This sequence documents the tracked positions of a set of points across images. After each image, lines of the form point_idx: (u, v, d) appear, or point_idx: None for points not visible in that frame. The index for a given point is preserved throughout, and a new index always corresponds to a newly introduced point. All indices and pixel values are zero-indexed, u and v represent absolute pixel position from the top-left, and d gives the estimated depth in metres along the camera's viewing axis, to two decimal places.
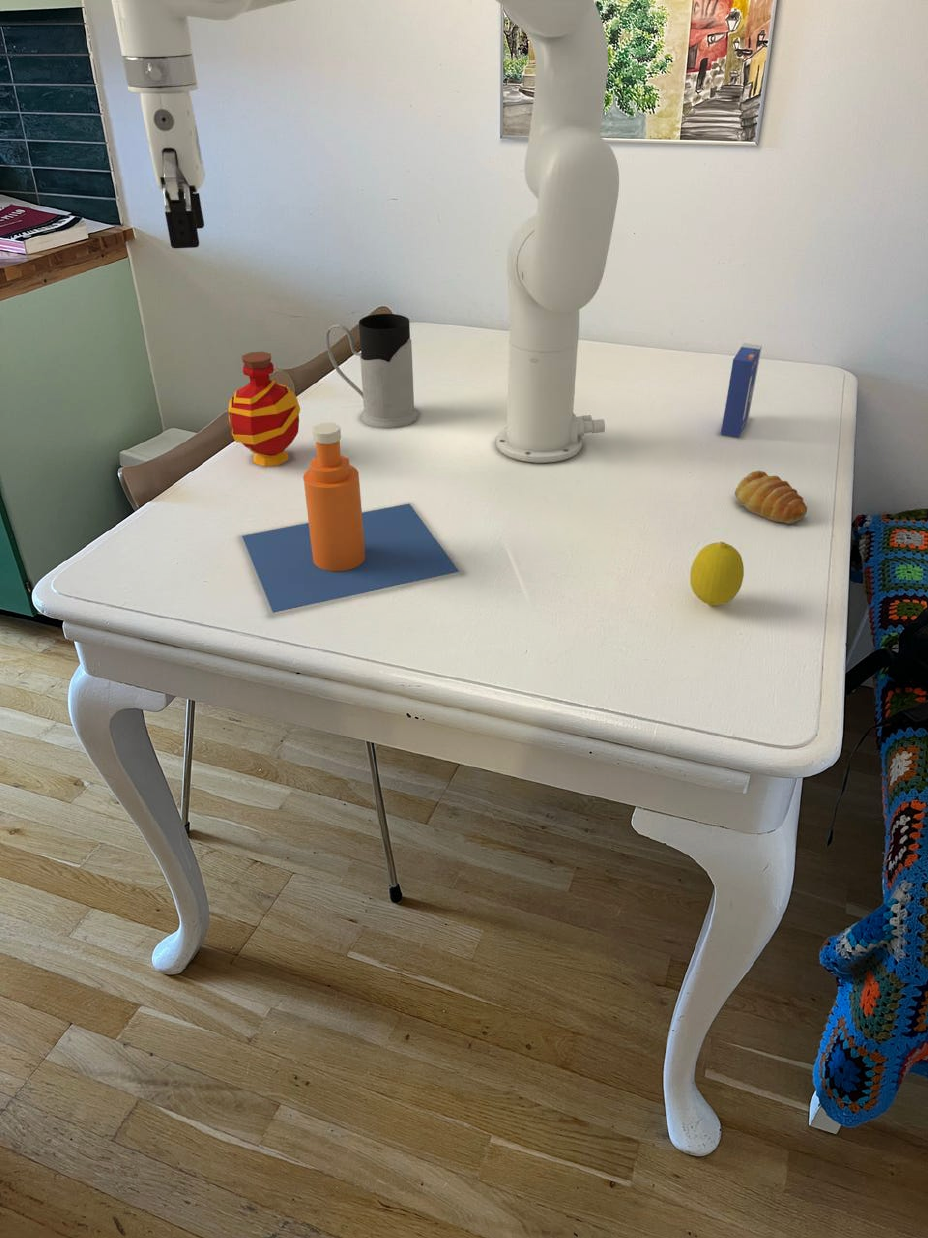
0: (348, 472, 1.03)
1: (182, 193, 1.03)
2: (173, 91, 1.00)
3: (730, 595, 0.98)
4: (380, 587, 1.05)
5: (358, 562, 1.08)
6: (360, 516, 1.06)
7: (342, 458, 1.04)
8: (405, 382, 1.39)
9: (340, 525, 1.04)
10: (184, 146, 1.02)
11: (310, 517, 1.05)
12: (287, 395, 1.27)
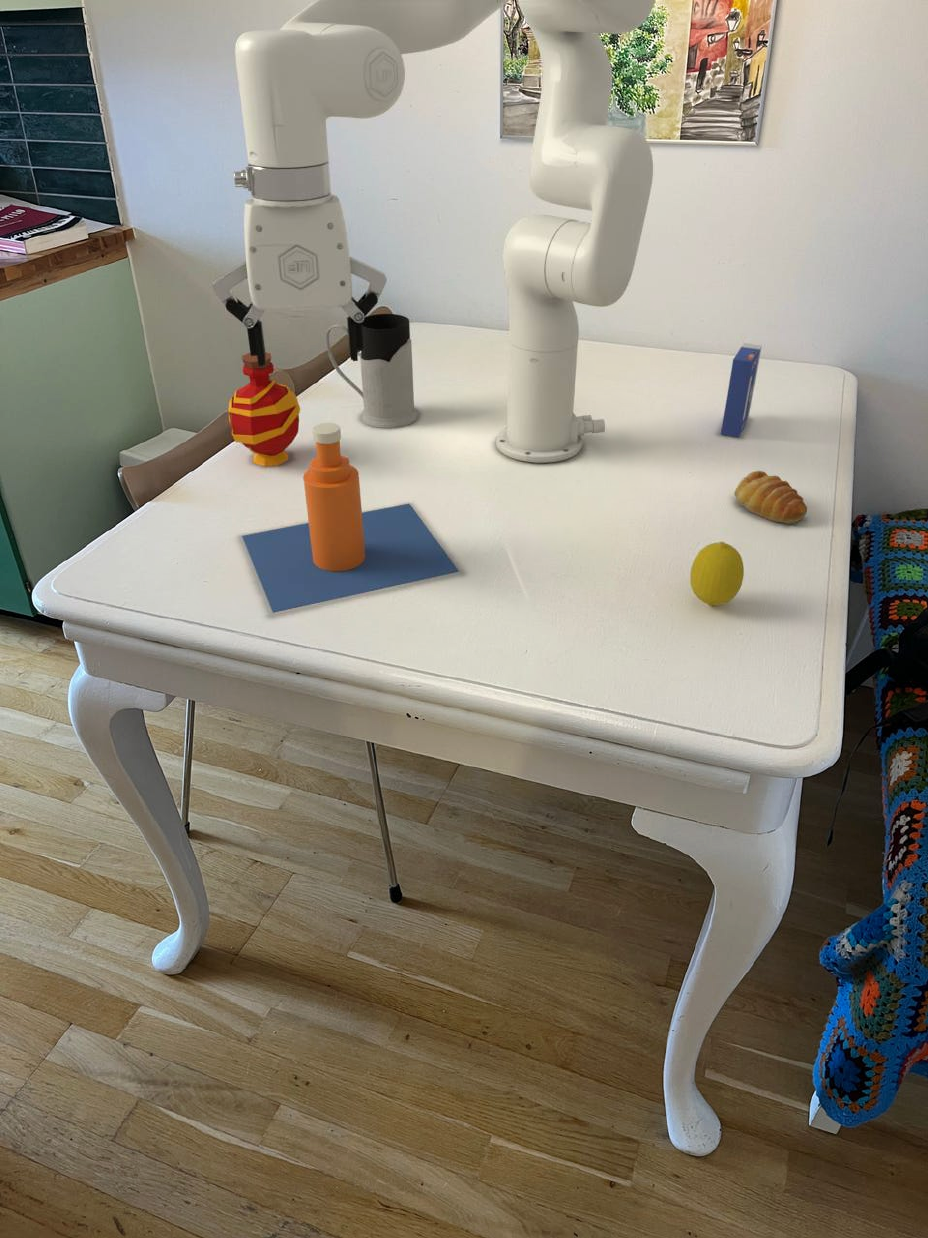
0: (348, 472, 1.03)
1: (229, 305, 0.93)
2: (254, 202, 0.87)
3: (730, 595, 0.98)
4: (380, 587, 1.05)
5: (358, 562, 1.08)
6: (360, 516, 1.06)
7: (342, 458, 1.04)
8: (405, 382, 1.39)
9: (340, 525, 1.04)
10: (246, 261, 0.90)
11: (310, 517, 1.05)
12: (287, 395, 1.27)
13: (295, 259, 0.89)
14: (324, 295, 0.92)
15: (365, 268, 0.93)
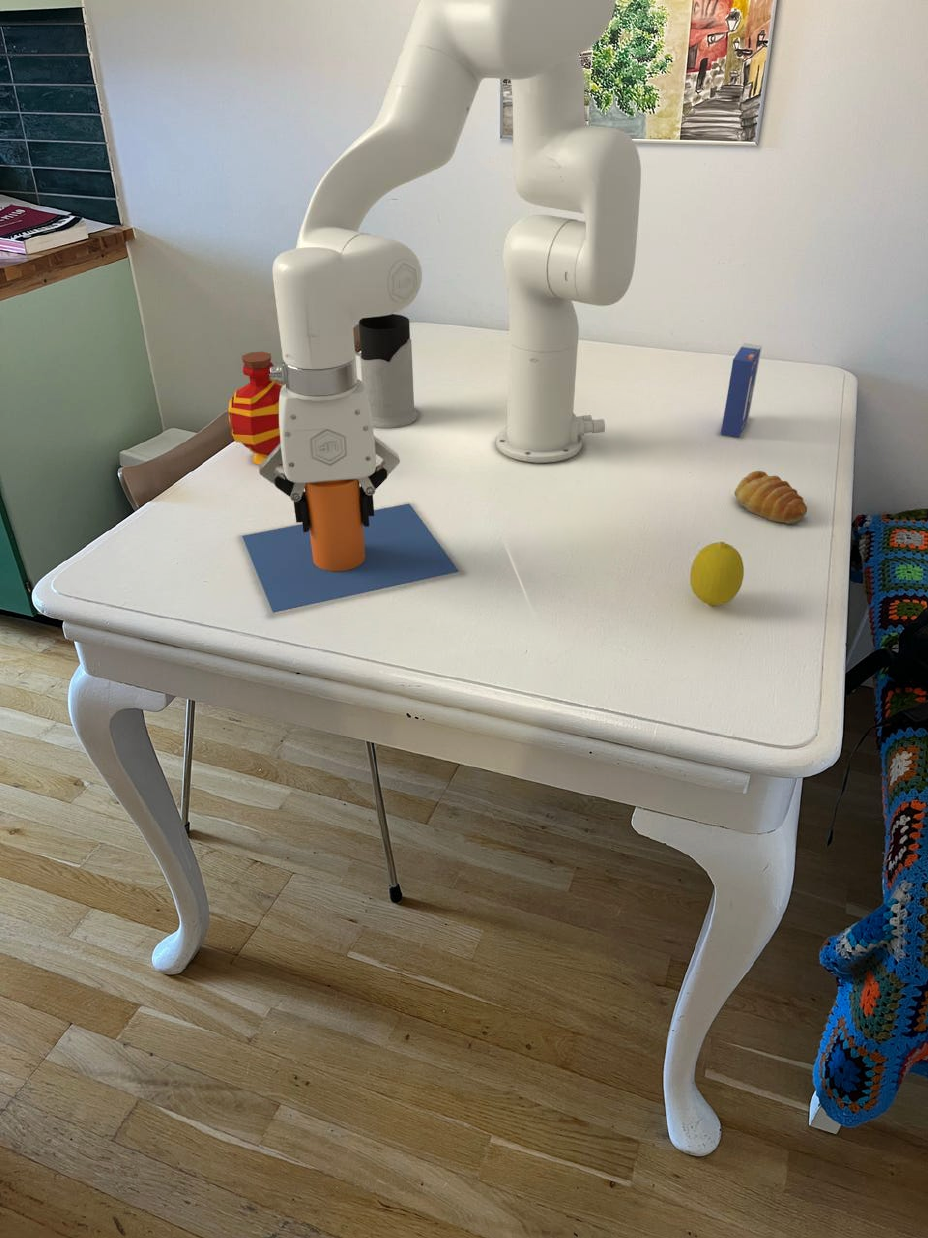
0: None
1: (278, 483, 1.02)
2: (289, 394, 0.96)
3: (730, 595, 0.98)
4: (380, 587, 1.05)
5: (358, 562, 1.08)
6: (360, 516, 1.06)
7: None
8: (405, 382, 1.39)
9: (340, 525, 1.04)
10: (281, 443, 0.99)
11: (310, 517, 1.05)
12: None
13: (325, 441, 0.99)
14: (351, 469, 1.01)
15: (384, 449, 1.03)
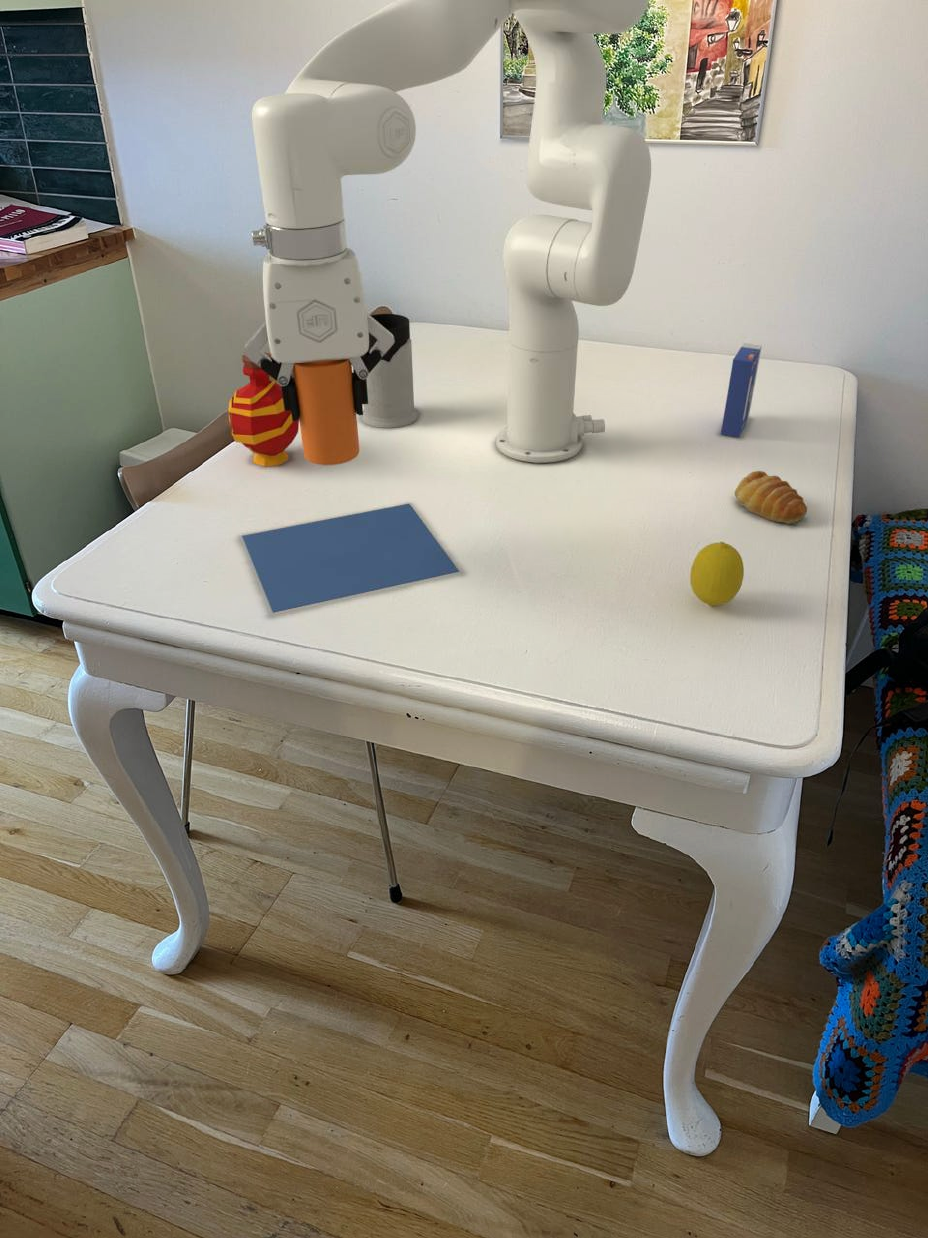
0: None
1: (264, 365, 0.95)
2: (273, 260, 0.89)
3: (730, 595, 0.98)
4: (380, 587, 1.05)
5: (352, 455, 1.01)
6: (353, 403, 0.99)
7: None
8: (405, 382, 1.39)
9: (332, 412, 0.97)
10: (265, 317, 0.92)
11: (299, 404, 0.98)
12: None
13: (313, 314, 0.91)
14: (342, 346, 0.94)
15: (377, 326, 0.95)
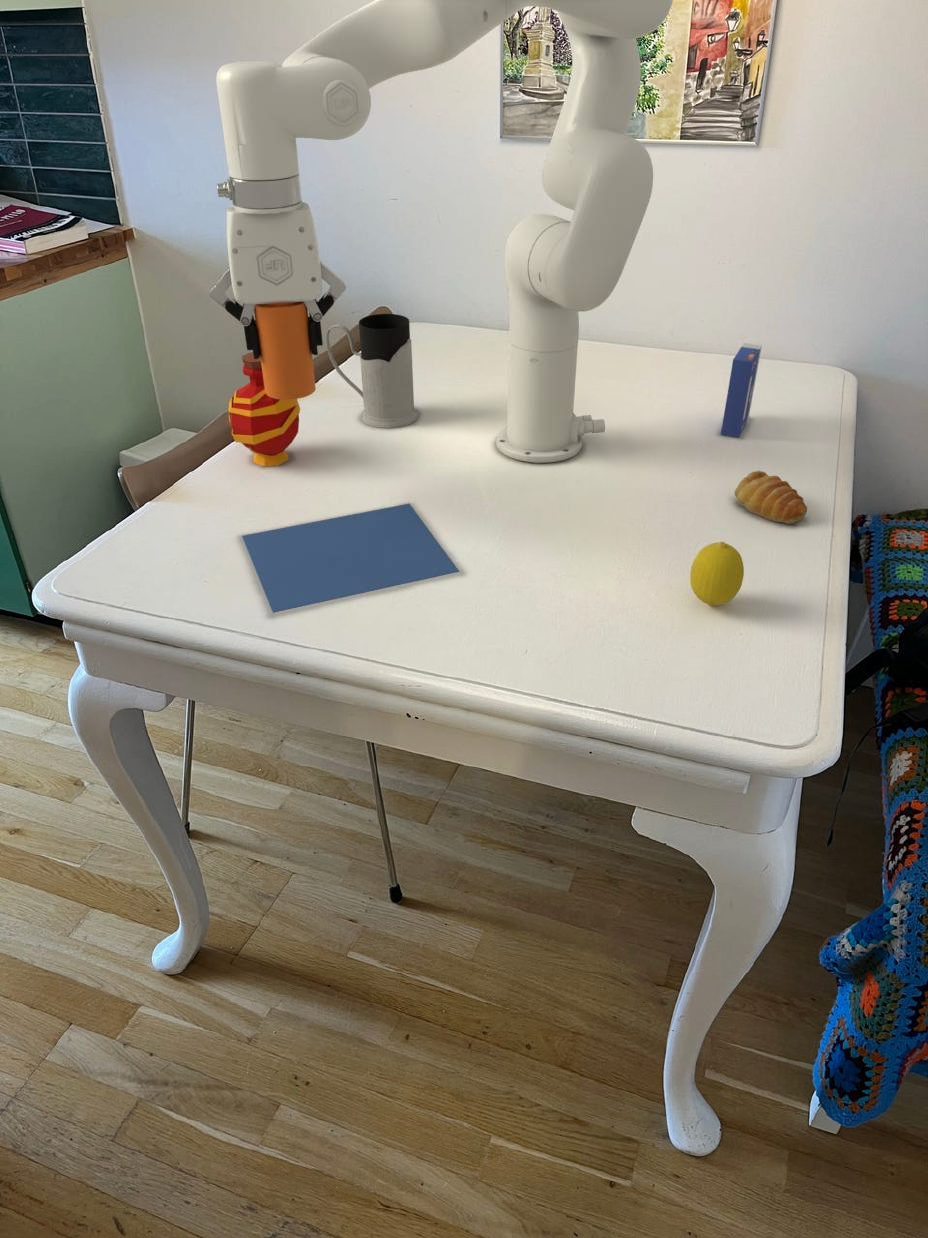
0: None
1: (228, 306, 1.07)
2: (235, 210, 1.01)
3: (730, 595, 0.98)
4: (380, 587, 1.05)
5: (308, 391, 1.13)
6: (309, 344, 1.11)
7: None
8: (405, 382, 1.39)
9: (289, 350, 1.09)
10: (229, 261, 1.03)
11: (260, 343, 1.09)
12: None
13: (271, 259, 1.03)
14: (297, 290, 1.05)
15: (330, 273, 1.07)
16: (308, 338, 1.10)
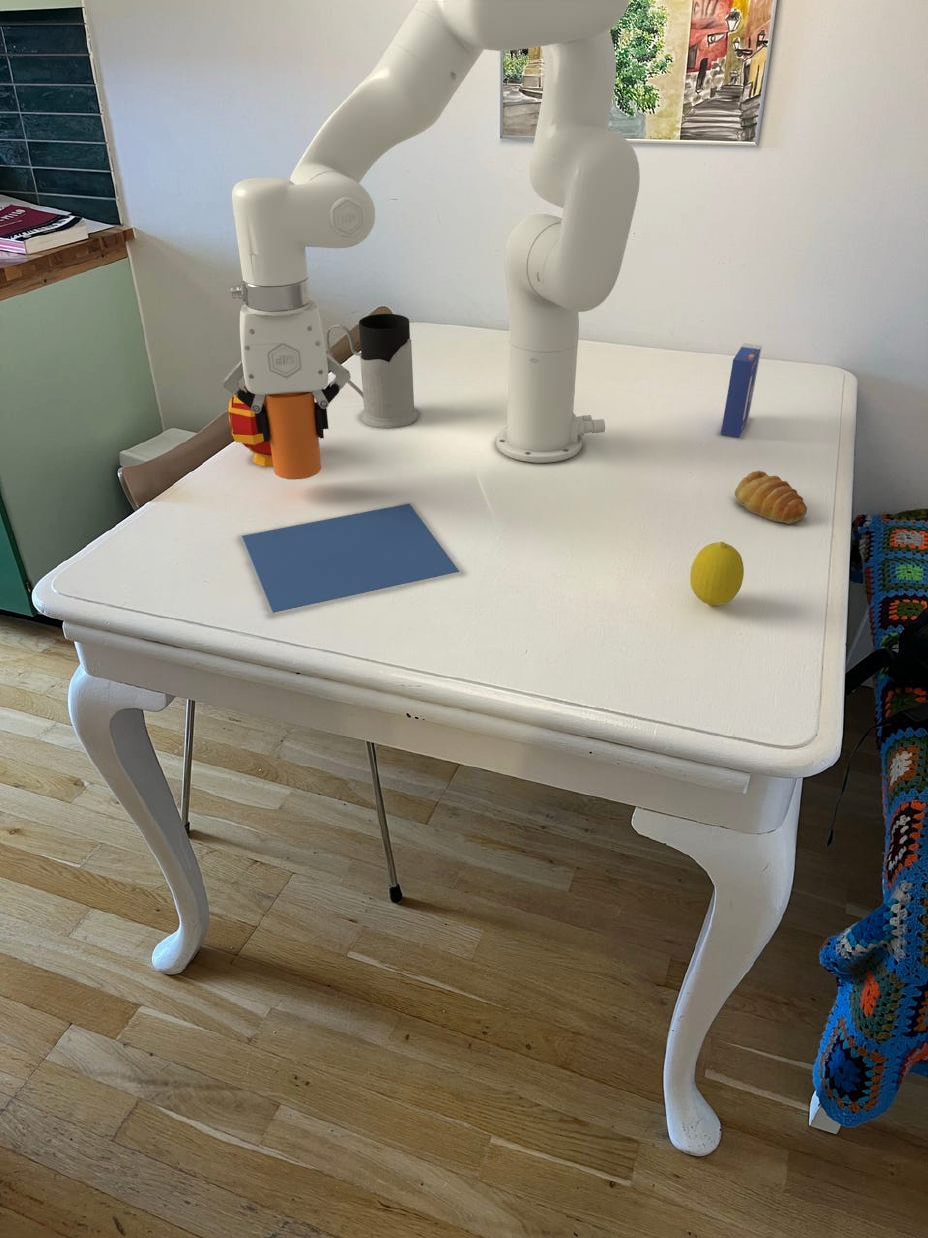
0: None
1: (240, 395, 1.14)
2: (248, 310, 1.08)
3: (730, 595, 0.98)
4: (380, 587, 1.05)
5: (314, 471, 1.20)
6: (316, 428, 1.18)
7: None
8: (405, 382, 1.39)
9: (297, 435, 1.16)
10: None
11: (270, 428, 1.16)
12: None
13: (281, 354, 1.10)
14: (305, 381, 1.12)
15: (336, 365, 1.14)
16: (315, 423, 1.17)
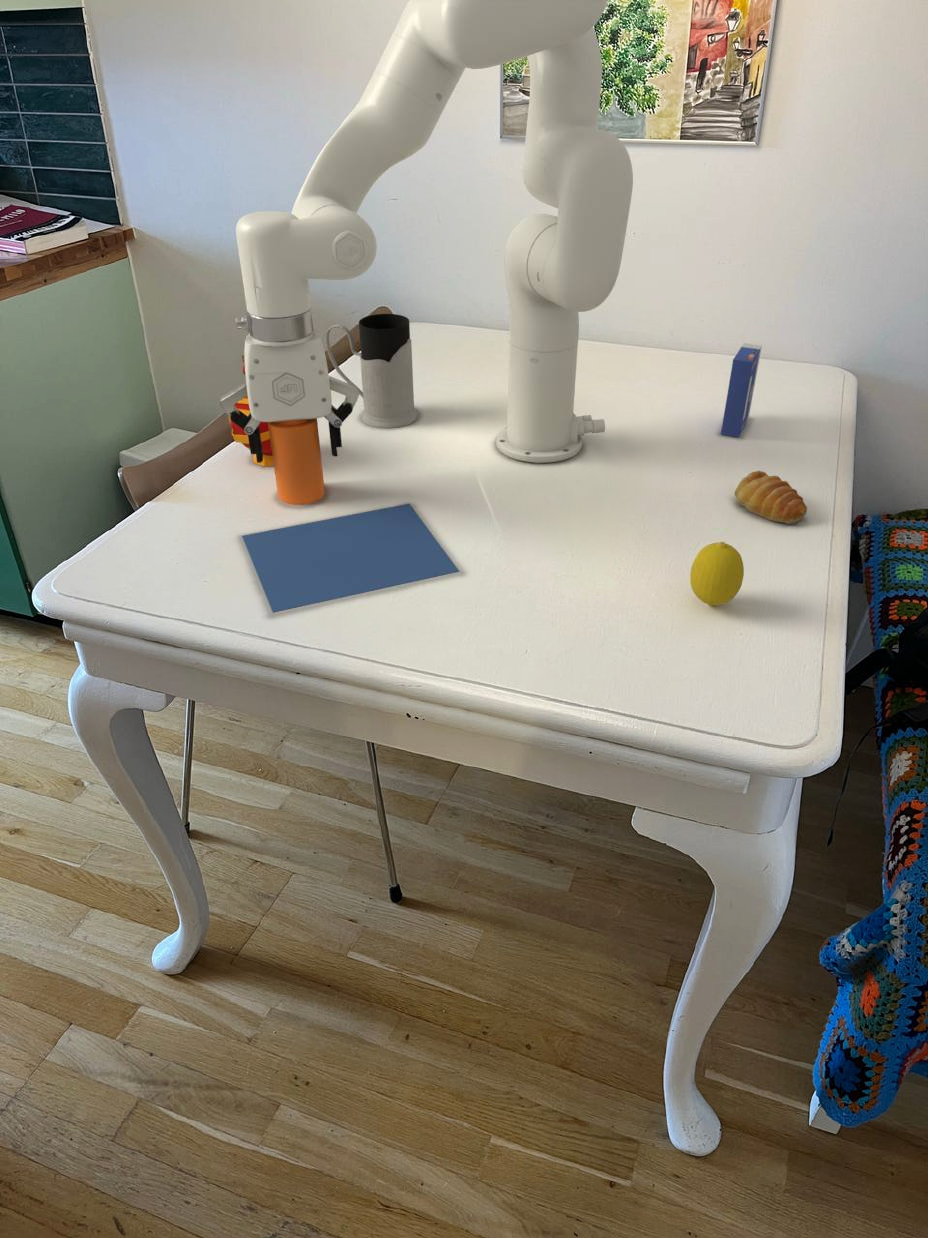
0: None
1: (233, 417, 1.15)
2: (252, 341, 1.10)
3: (730, 595, 0.98)
4: (380, 587, 1.05)
5: (318, 498, 1.22)
6: (319, 456, 1.20)
7: None
8: (405, 382, 1.39)
9: (301, 463, 1.18)
10: (246, 385, 1.12)
11: (274, 457, 1.19)
12: None
13: (285, 383, 1.12)
14: (309, 409, 1.14)
15: (342, 385, 1.16)
16: (318, 451, 1.20)
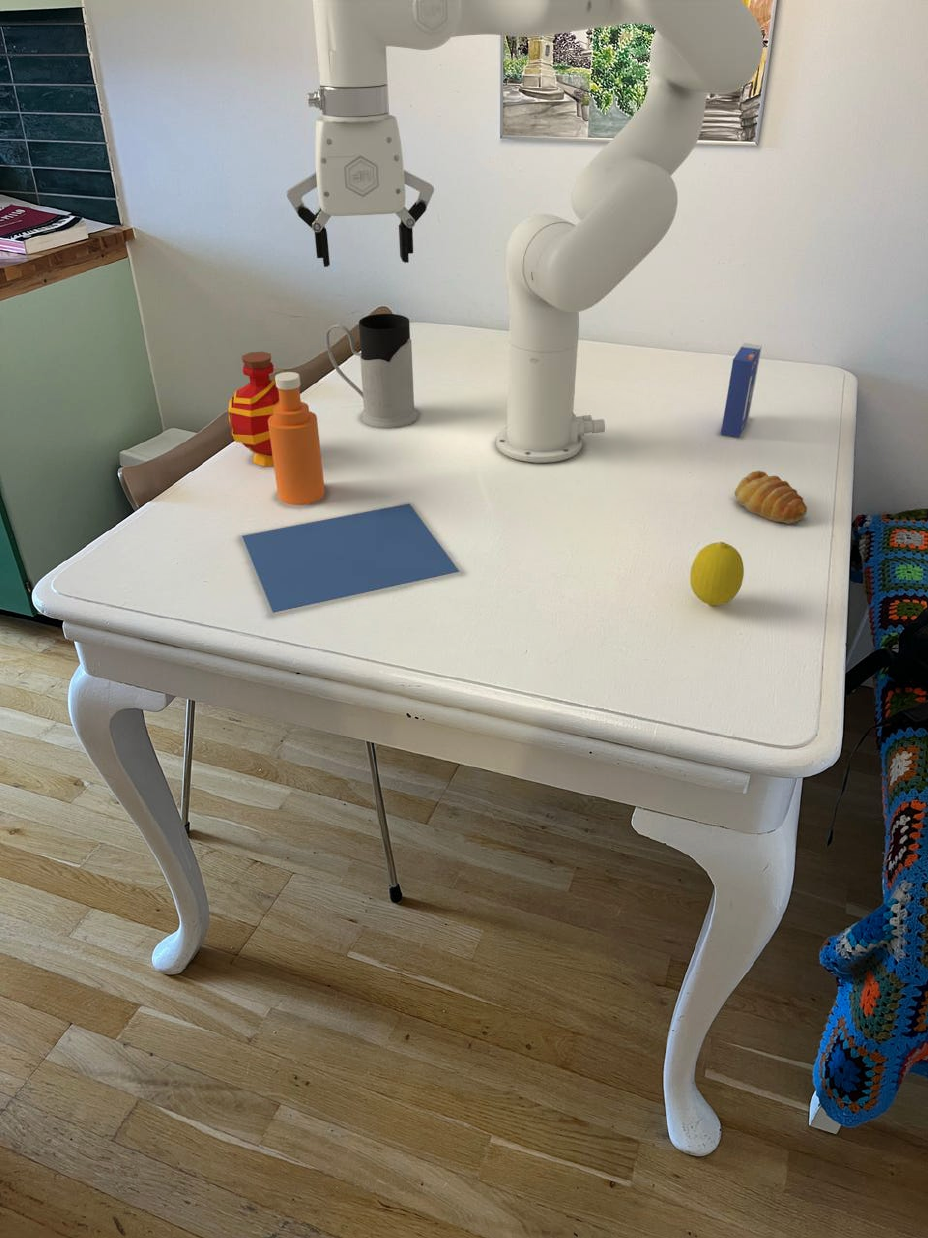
0: (307, 416, 1.17)
1: (300, 212, 1.08)
2: (325, 119, 1.03)
3: (730, 595, 0.98)
4: (380, 587, 1.05)
5: (318, 498, 1.22)
6: (319, 456, 1.20)
7: (302, 404, 1.18)
8: (405, 382, 1.39)
9: (301, 463, 1.18)
10: (317, 172, 1.05)
11: (274, 457, 1.19)
12: None
13: (358, 169, 1.05)
14: (382, 201, 1.07)
15: (416, 179, 1.09)
16: (318, 451, 1.20)
